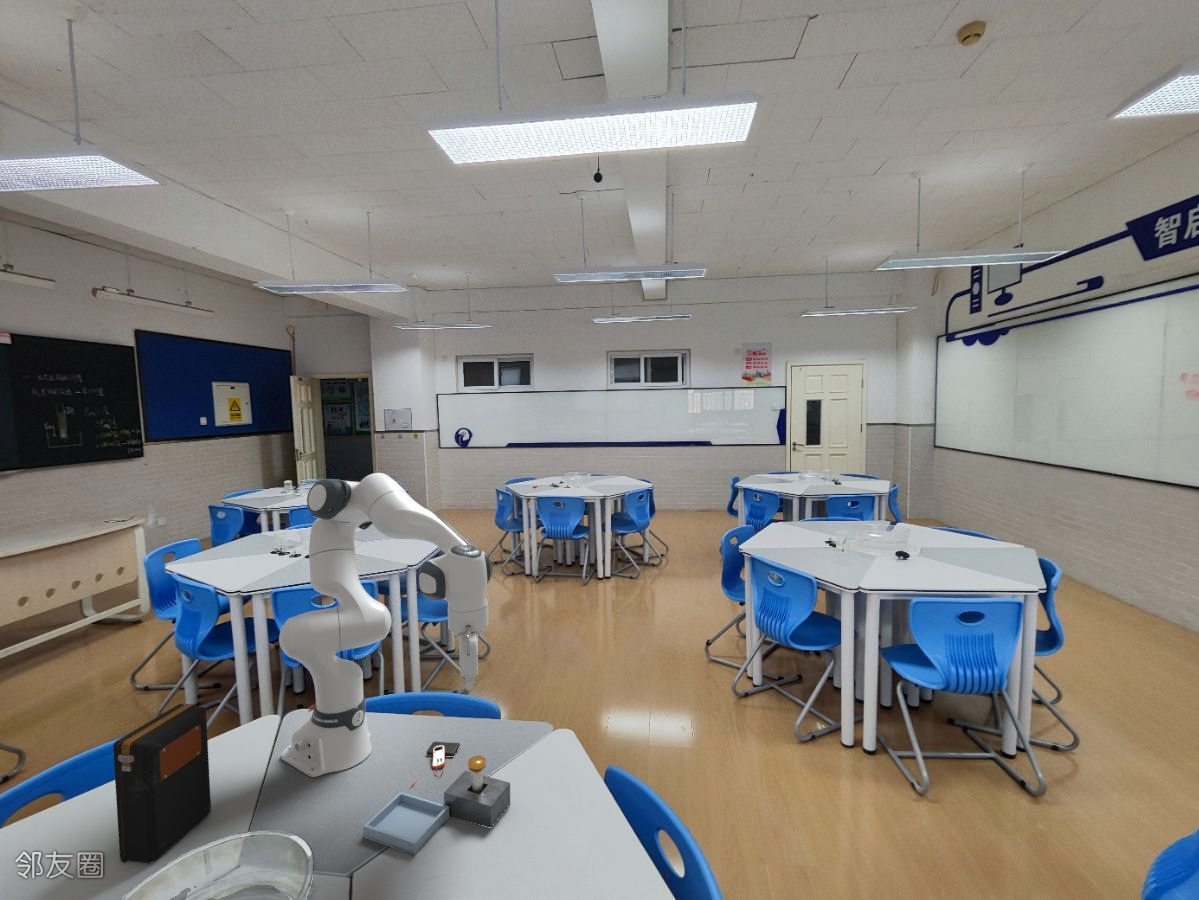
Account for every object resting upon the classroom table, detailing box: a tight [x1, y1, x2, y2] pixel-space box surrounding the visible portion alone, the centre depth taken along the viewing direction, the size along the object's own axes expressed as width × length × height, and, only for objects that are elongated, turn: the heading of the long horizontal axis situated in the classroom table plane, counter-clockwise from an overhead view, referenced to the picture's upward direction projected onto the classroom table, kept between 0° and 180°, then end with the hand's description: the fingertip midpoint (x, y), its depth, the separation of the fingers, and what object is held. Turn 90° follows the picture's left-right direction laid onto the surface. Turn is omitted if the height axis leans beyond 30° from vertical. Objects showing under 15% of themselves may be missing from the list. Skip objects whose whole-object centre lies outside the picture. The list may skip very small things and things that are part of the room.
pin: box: [467, 755, 487, 794], centre depth 122 cm, size 4×4×11 cm
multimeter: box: [410, 741, 461, 788], centre depth 137 cm, size 18×12×3 cm, turn 170°
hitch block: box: [443, 770, 511, 828], centre depth 122 cm, size 12×8×5 cm, turn 69°
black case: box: [112, 703, 212, 864], centre depth 114 cm, size 16×9×25 cm, turn 173°
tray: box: [362, 791, 450, 856], centre depth 117 cm, size 13×11×2 cm
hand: (470, 679), depth 124 cm, fingers open, 8 cm apart
